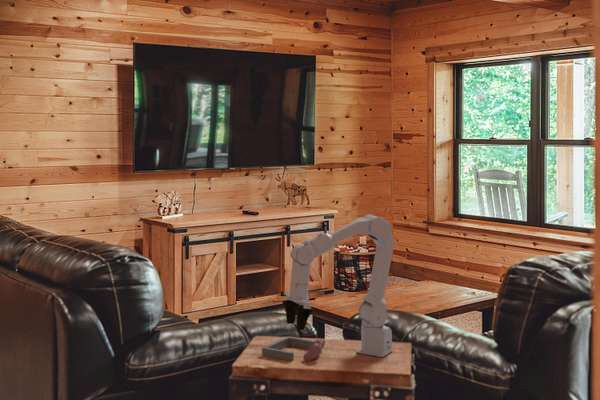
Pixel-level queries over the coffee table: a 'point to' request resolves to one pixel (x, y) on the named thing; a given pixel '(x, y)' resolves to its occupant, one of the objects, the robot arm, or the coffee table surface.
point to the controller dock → (275, 347)
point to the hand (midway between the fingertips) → (295, 326)
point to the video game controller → (314, 349)
